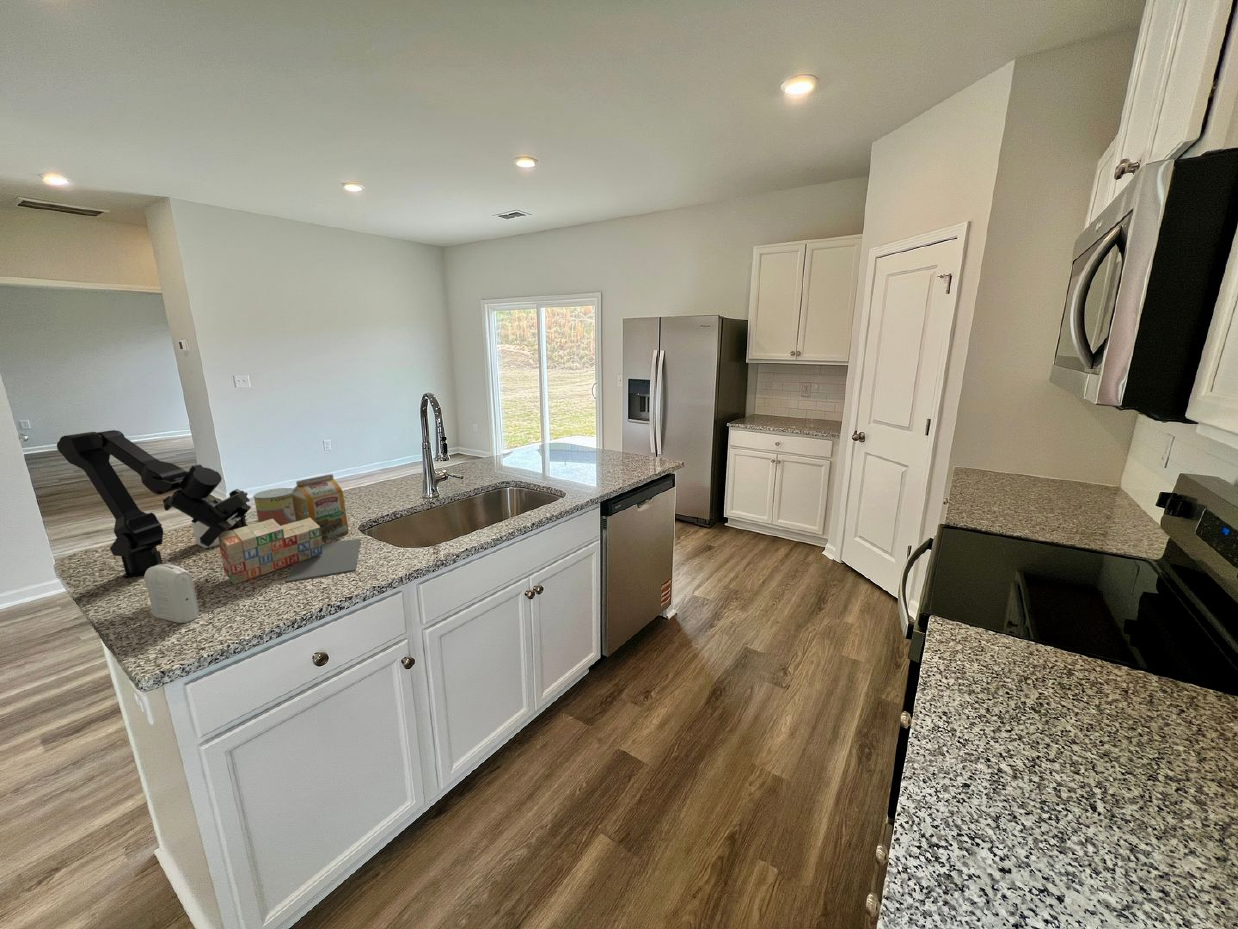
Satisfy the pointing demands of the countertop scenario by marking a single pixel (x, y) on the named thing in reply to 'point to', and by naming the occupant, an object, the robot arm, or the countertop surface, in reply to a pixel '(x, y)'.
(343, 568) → the mat
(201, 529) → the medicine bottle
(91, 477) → the robot arm
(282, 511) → the canned food
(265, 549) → the stack of blocks
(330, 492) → the milk carton
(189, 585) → the photo printer
